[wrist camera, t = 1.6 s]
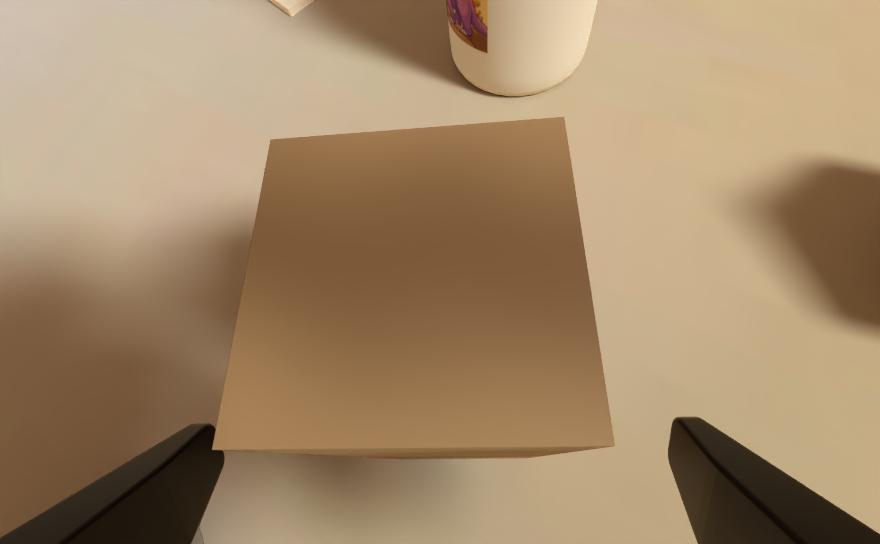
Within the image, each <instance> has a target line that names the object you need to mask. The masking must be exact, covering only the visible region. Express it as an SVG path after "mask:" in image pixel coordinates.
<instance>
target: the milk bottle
mask: <svg viewBox="0 0 880 544" xmlns="http://www.w3.org/2000/svg"><path fill="white" fill-rule="evenodd" d="M597 1H598V0H446V4H447V15H448V25H449V36H450V44H451V52H452V57H453V60H454V62H455V64H456V66H457V68H458V69H459V71H460V72H461V73H462V74H463V76H464V77H465V78H466V79H467V80H468V81H469V82H471V83H472V84H473V85H474V86H476V87H478V88H480V89H482V90H484V91H487V92H491V93H494V94H497V95H505V96H525V95H532V94H537V93H540V92H543V91H546V90H549V89H550V88H552V87H554V86H557V85H559V84H560V83H561V82H562V81H564V80H565V79H566V78H568V77H569V75H570V74H571V73H572V72H573V71H574V70H575V69H576V67H577V66H578V65H579V63H580V62H581V60H582V58H583V56H584V53H585V50H586V46H587V42H588V39H589V35H590V31H591V27H592V23H593V18H594V14H595V10H596V6H597Z"/></svg>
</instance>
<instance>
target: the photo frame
mask: <svg viewBox="0 0 880 544" xmlns="http://www.w3.org/2000/svg"><path fill="white" fill-rule="evenodd" d="M269 1H271V2H272V3H273V4H275V5H276V6H277V7H279V8H280V9H282V10H283V11H284V12H286V13H287V14H288V15H290V16H293V15H294V14H296V13H297V12H299V11H300V10H301V9H303V8H304V7H306V6H307V5H309V4H310V3H312V2H313V1H314V0H269Z"/></svg>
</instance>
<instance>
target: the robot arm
mask: <svg viewBox="0 0 880 544" xmlns="http://www.w3.org/2000/svg"><path fill="white" fill-rule="evenodd" d="M215 431H216V429H215V427H214V426H213V425H212V424H191V425H189V426H187V427H186V428H184V429H182V430H180V431H179V432H177V433H175V434H174V435H172V436H170V437H169V438H167V439H165V440H164V441H162V442H160V443H159V444H157V445H155V446H154V447H152V448H150V449H149V450H147V451H145V452H144V453H142V454H140V455H139V456H137V457H135V458H134V459H132V460H130V461H128V462H127V463H125V464H123V465H122V466H120V467H118V468H117V469H115V470H113V471H112V472H110V473H108V474H107V475H105V476H103V477H102V478H100V479H98V480H97V481H95V482H93V483H92V484H90V485H88V486H87V487H85V488H83V489H82V490H80V491H78V492H77V493H75V494H73V495H71V496H70V497H68V498H66V499H65V500H63V501H61V502H60V503H58V504H56V505H55V506H53V507H51V508H50V509H48V510H46V511H45V512H43V513H41V514H40V515H38V516H36V517H35V518H33V519H31V520H30V521H28V522H26V523H25V524H23V525H21V526H19V527H18V528H16V529H14V530H13V531H11V532H9V533H8V534H6V535H4V536H3V537H1V538H0V544H191V543H192V541H193V539H194V536H195V534H196V532H197V530H198V527H199V525H200V522H201V520H202V517H203V515H204V512H205V510H206V508H207V505H208V503H209V500H210V498H211V495H212V493H213V490H214V488H215V485H216V483H217V481H218V478H219V476H220V473H221V471H222V468H223V465H224V452H223V450H212V447H213V442H214V436H215ZM668 459H669V464H670V467H671V470H672V472H673V475H674V478H675V481H676V484H677V487H678V489H679V492H680V495H681V498H682V501H683V504H684V506H685V509H686V512H687V515H688V518H689V520H690V523H691V526H692V529H693V532H694V535H695V537H696V540H697V542H698V544H880V534H879V533H877V532H876V531H874V530H873V529H871V528H869V527H868V526H866V525H865V524H863V523H862V522H860V521H859V520H857V519H856V518H854V517H852V516H851V515H849V514H848V513H846V512H845V511H843V510H842V509H840V508H839V507H837V506H835V505H834V504H832V503H831V502H829V501H828V500H826V499H825V498H823V497H822V496H820V495H819V494H817V493H815V492H814V491H812V490H811V489H809V488H808V487H806V486H805V485H803V484H802V483H800V482H798V481H797V480H795V479H794V478H792V477H791V476H789V475H788V474H786V473H785V472H783V471H781V470H780V469H778V468H777V467H775V466H774V465H772V464H771V463H769V462H768V461H766V460H764V459H763V458H761V457H760V456H758V455H757V454H755V453H754V452H752V451H751V450H749V449H748V448H746V447H744V446H743V445H741V444H740V443H738V442H737V441H735V440H734V439H732V438H731V437H729V436H727V435H726V434H724V433H723V432H721V431H720V430H718V429H717V428H715V427H714V426H712V425H710V424H709V423H707V422H706V421H704V420H703V419H701V418H699V417H677V418H675V419H674V420H673V422H672V427H671V434H670V441H669V447H668Z"/></svg>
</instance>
